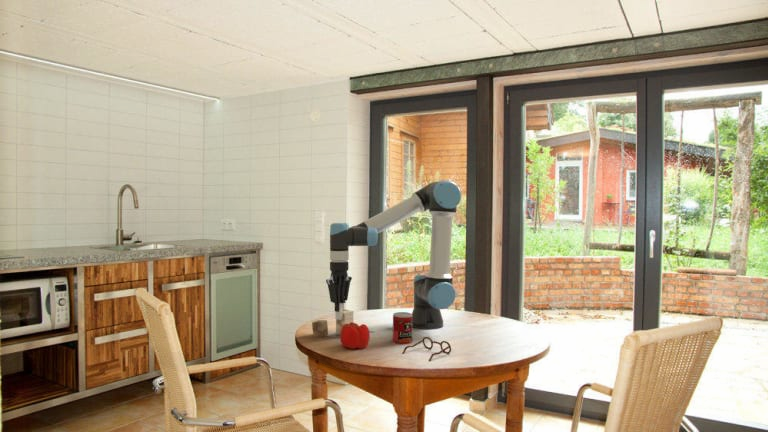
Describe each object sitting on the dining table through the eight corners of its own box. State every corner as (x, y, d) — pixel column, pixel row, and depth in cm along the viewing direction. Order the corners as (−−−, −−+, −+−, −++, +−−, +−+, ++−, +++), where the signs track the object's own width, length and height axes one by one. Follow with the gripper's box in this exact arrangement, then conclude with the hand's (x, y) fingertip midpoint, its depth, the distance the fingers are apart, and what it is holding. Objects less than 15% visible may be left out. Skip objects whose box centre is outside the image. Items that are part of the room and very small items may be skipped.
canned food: (398, 345, 199) (399, 316, 199) (389, 340, 206) (389, 312, 206) (415, 342, 203) (416, 315, 203) (405, 338, 210) (406, 311, 210)
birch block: (353, 335, 213) (353, 310, 212) (344, 337, 209) (345, 312, 208) (344, 333, 216) (344, 309, 216) (335, 335, 212) (336, 311, 212)
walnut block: (328, 334, 212) (327, 320, 213) (322, 337, 208) (321, 322, 208) (318, 334, 214) (317, 320, 214) (313, 337, 210) (312, 322, 210)
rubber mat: (375, 332, 219) (375, 331, 219) (344, 341, 204) (344, 340, 204) (355, 328, 226) (355, 327, 226) (324, 336, 211) (324, 335, 211)
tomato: (333, 348, 194) (334, 324, 194) (355, 342, 203) (356, 319, 203) (354, 353, 187) (354, 328, 187) (376, 347, 196) (376, 323, 196)
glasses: (451, 355, 188) (452, 341, 188) (429, 363, 178) (429, 348, 178) (424, 348, 197) (424, 335, 197) (400, 355, 188) (401, 341, 187)
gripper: (343, 259, 216) (343, 315, 217) (321, 261, 206) (320, 320, 206) (356, 260, 212) (356, 317, 212) (334, 263, 201) (334, 323, 202)
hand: (339, 319), depth 209 cm, fingers closed
